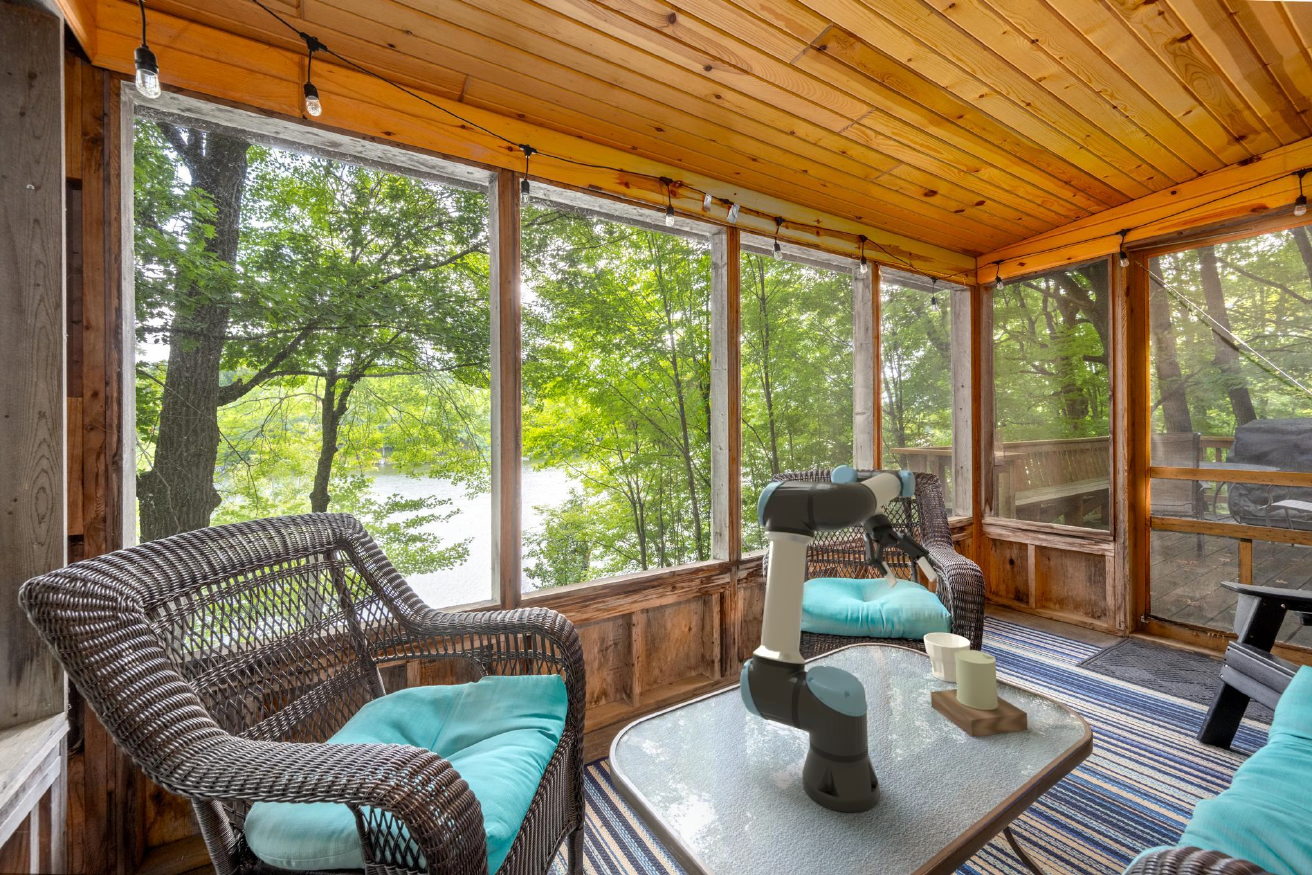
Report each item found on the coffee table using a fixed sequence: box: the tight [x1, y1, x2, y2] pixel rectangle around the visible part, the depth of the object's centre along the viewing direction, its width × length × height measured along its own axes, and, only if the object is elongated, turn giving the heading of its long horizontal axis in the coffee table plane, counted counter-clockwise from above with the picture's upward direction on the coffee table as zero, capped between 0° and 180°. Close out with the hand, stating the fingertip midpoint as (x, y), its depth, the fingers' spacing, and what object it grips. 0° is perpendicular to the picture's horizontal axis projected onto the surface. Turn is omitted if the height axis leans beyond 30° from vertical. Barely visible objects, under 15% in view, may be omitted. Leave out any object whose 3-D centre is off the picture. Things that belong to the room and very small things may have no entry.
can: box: [955, 649, 998, 710], centre depth 137 cm, size 9×9×12 cm
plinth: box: [930, 688, 1029, 738], centre depth 137 cm, size 15×15×4 cm
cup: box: [923, 632, 971, 683], centre depth 161 cm, size 12×12×11 cm
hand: (914, 582), depth 147 cm, fingers open, 13 cm apart
